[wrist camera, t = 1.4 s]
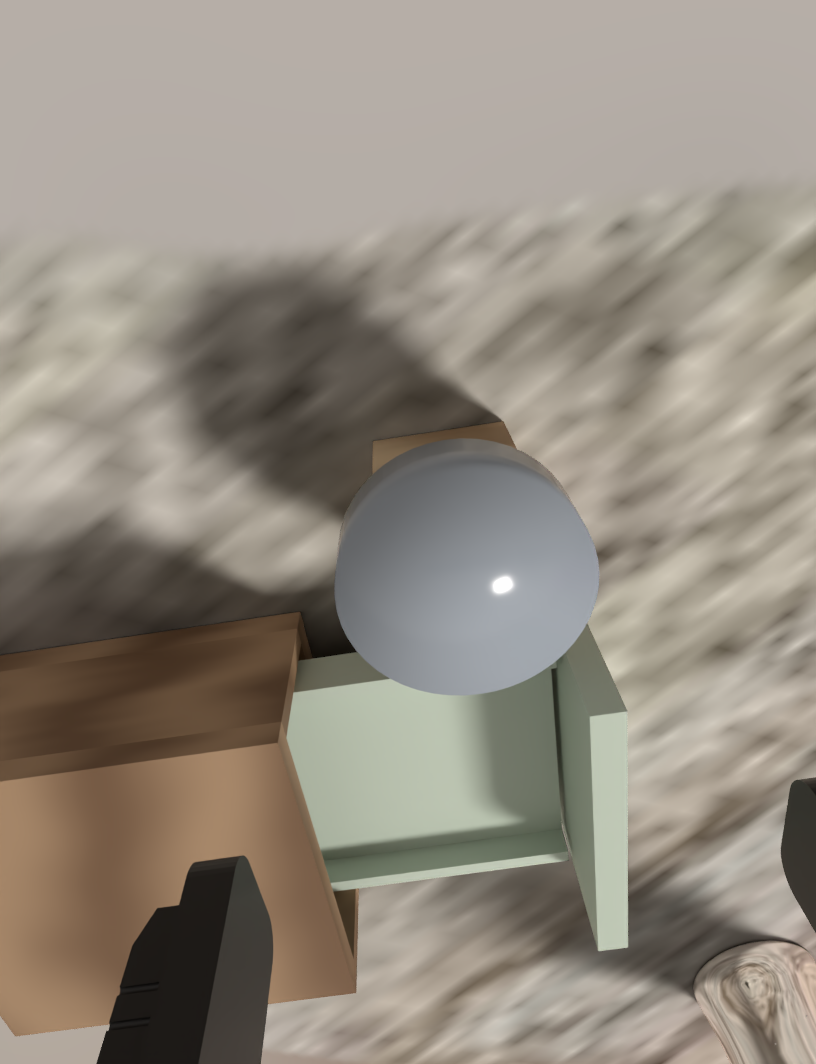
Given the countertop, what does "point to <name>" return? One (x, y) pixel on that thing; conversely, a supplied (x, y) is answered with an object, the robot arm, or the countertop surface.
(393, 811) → the tray
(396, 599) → the grey round dome
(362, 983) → the countertop surface
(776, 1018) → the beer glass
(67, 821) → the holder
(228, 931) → the robot arm
